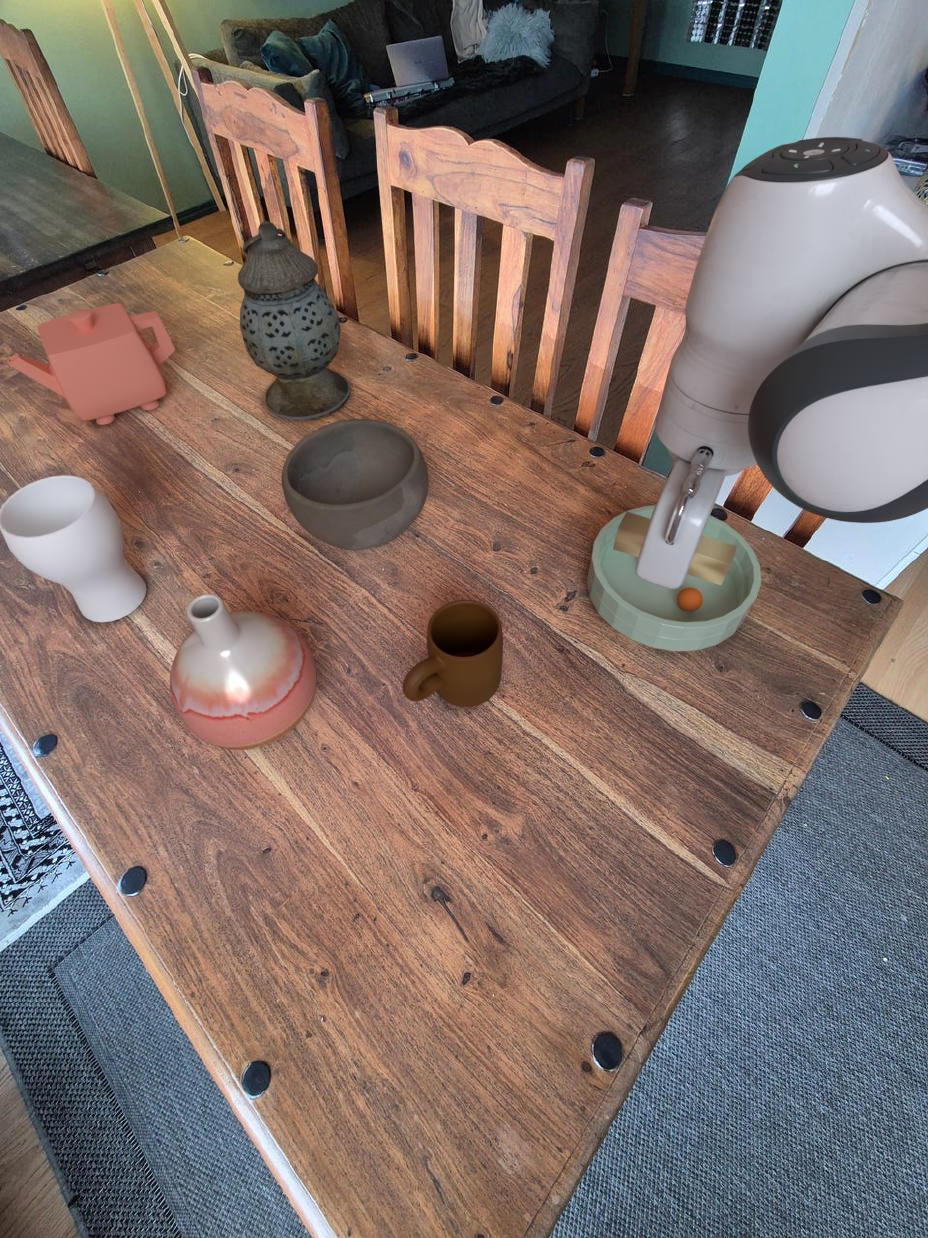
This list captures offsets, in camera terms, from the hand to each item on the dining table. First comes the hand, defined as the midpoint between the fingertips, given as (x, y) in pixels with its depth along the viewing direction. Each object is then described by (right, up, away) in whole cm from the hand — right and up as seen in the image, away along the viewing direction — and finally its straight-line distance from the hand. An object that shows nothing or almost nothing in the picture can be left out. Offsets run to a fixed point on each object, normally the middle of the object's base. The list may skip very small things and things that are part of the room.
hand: (674, 545), depth 57 cm
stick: (0, -1, +1) cm, 2 cm away
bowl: (-32, +7, +28) cm, 43 cm away
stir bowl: (+5, -3, +19) cm, 20 cm away
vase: (-40, -16, +11) cm, 45 cm away
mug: (-20, -15, +12) cm, 27 cm away
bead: (+7, -5, +17) cm, 19 cm away
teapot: (-74, +28, +45) cm, 91 cm away
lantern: (-44, +29, +45) cm, 70 cm away
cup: (-61, -4, +21) cm, 65 cm away
